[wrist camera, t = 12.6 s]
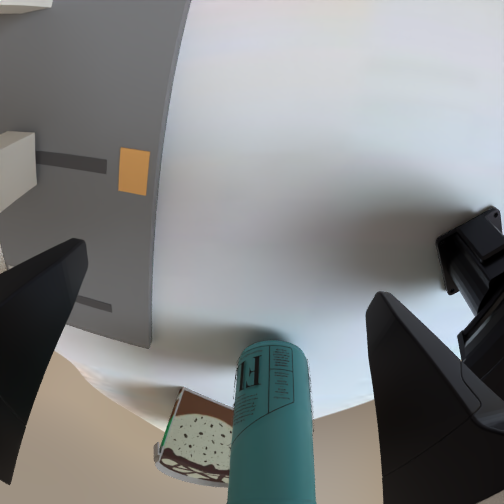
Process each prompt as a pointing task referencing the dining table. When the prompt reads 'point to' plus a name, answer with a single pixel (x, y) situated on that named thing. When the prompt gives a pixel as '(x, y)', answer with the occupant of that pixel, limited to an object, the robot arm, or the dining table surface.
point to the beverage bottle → (272, 427)
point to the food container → (197, 441)
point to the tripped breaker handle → (16, 166)
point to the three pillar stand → (91, 143)
